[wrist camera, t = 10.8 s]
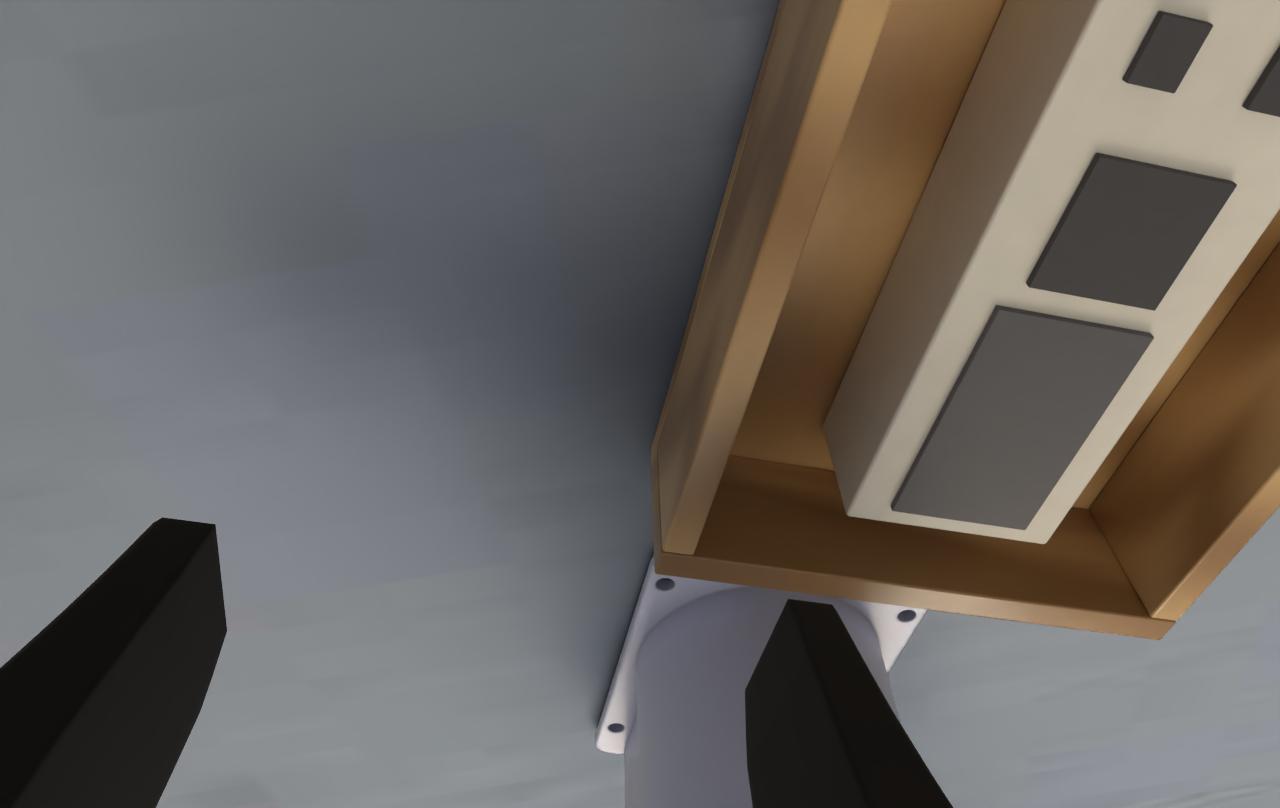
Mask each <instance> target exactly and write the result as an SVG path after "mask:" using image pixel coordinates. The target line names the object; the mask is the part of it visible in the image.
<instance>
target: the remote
mask: <svg viewBox="0 0 1280 808" xmlns="http://www.w3.org/2000/svg"><path fill="white" fill-rule="evenodd" d="M1279 209H1280V0H1006V2H1005V4H1004V7H1003V9H1002V11H1001V13H1000V16H999V18H998V20H997V23H996V25H995V27H994V30H993V32H992V34H991V37H990V39H989V41H988V44H987V46H986V48H985V51H984V53H983V55H982V58H981V60H980V62H979V65H978V67H977V69H976V71H975V74H974V76H973V78H972V81H971V83H970V85H969V88H968V90H967V92H966V95H965V97H964V99H963V102H962V104H961V106H960V109H959V111H958V113H957V116H956V118H955V120H954V123H953V125H952V127H951V130H950V132H949V134H948V136H947V139H946V141H945V143H944V146H943V148H942V150H941V153H940V155H939V157H938V160H937V162H936V164H935V167H934V169H933V171H932V174H931V176H930V178H929V181H928V183H927V185H926V188H925V190H924V192H923V195H922V197H921V199H920V201H919V204H918V206H917V208H916V211H915V213H914V215H913V218H912V220H911V222H910V225H909V227H908V229H907V232H906V234H905V236H904V239H903V241H902V243H901V246H900V248H899V250H898V253H897V255H896V257H895V259H894V262H893V264H892V266H891V269H890V271H889V273H888V276H887V278H886V280H885V283H884V285H883V287H882V290H881V292H880V294H879V297H878V299H877V301H876V304H875V306H874V308H873V311H872V313H871V315H870V318H869V320H868V322H867V324H866V327H865V329H864V331H863V334H862V336H861V338H860V341H859V343H858V345H857V348H856V350H855V352H854V355H853V357H852V359H851V362H850V364H849V366H848V369H847V371H846V373H845V376H844V378H843V380H842V382H841V385H840V387H839V389H838V392H837V394H836V396H835V399H834V401H833V403H832V406H831V408H830V410H829V413H828V415H827V417H826V420H825V422H824V424H823V430H824V434H825V437H826V441H827V445H828V449H829V452H830V456H831V460H832V463H833V467H834V471H835V475H836V478H837V482H838V486H839V489H840V493H841V497H842V500H843V504H844V508H845V512H846V514H847V515H848V516H851V517H858V518H865V519H872V520H879V521H886V522H892V523H899V524H906V525H913V526H920V527H927V528H934V529H941V530H948V531H955V532H962V533H969V534H976V535H983V536H990V537H997V538H1004V539H1011V540H1018V541H1025V542H1032V543H1039V544H1045V543H1047V541H1048V540H1049V539H1050V537H1051V536H1052V534H1053V533H1054V531H1055V530H1056V529H1057V527H1058V526H1059V524H1060V523H1061V521H1062V520H1063V518H1064V517H1065V516H1066V514H1067V513H1068V511H1069V510H1070V508H1071V507H1072V506H1073V504H1074V503H1075V501H1076V500H1077V498H1078V497H1079V496H1080V494H1081V493H1082V491H1083V490H1084V488H1085V487H1086V486H1087V484H1088V483H1089V481H1090V480H1091V478H1092V477H1093V476H1094V474H1095V473H1096V471H1097V470H1098V468H1099V467H1100V466H1101V464H1102V463H1103V461H1104V460H1105V458H1106V457H1107V455H1108V454H1109V453H1110V451H1111V450H1112V448H1113V447H1114V445H1115V444H1116V443H1117V441H1118V440H1119V438H1120V437H1121V435H1122V434H1123V433H1124V431H1125V430H1126V428H1127V427H1128V425H1129V424H1130V423H1131V421H1132V420H1133V418H1134V417H1135V415H1136V414H1137V413H1138V411H1139V410H1140V408H1141V407H1142V405H1143V404H1144V403H1145V401H1146V400H1147V398H1148V397H1149V395H1150V394H1151V392H1152V391H1153V390H1154V388H1155V387H1156V385H1157V384H1158V382H1159V381H1160V380H1161V378H1162V377H1163V375H1164V374H1165V372H1166V371H1167V370H1168V368H1169V367H1170V365H1171V364H1172V362H1173V361H1174V360H1175V358H1176V357H1177V355H1178V354H1179V352H1180V351H1181V350H1182V348H1183V347H1184V345H1185V344H1186V342H1187V341H1188V340H1189V338H1190V337H1191V335H1192V334H1193V332H1194V331H1195V329H1196V328H1197V327H1198V325H1199V324H1200V322H1201V321H1202V319H1203V318H1204V317H1205V315H1206V314H1207V312H1208V311H1209V309H1210V308H1211V307H1212V305H1213V304H1214V302H1215V301H1216V299H1217V298H1218V297H1219V295H1220V294H1221V292H1222V291H1223V289H1224V288H1225V287H1226V285H1227V284H1228V282H1229V281H1230V279H1231V278H1232V277H1233V275H1234V274H1235V272H1236V271H1237V269H1238V268H1239V266H1240V265H1241V264H1242V262H1243V261H1244V259H1245V258H1246V256H1247V255H1248V254H1249V252H1250V251H1251V249H1252V248H1253V246H1254V245H1255V244H1256V242H1257V241H1258V239H1259V238H1260V236H1261V235H1262V234H1263V232H1264V231H1265V229H1266V228H1267V226H1268V225H1269V224H1270V222H1271V221H1272V219H1273V218H1274V216H1275V215H1276V214H1277V212H1278V211H1279Z"/></svg>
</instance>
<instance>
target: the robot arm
mask: <svg viewBox="0 0 1280 808" xmlns="http://www.w3.org/2000/svg"><path fill="white" fill-rule="evenodd" d="M662 578H669V579H668V580H662ZM926 611H927V609H919V608H911V607H904V606H896V605H889V604H881V603H873V602H866V601H858V600H850V599H843V598H835V597H827V596H820V595H812V594H804V593H797V592H789V591H782V590H774V589H766V588H759V587H751V586H743V585H736V584H728V583H720V582H713V581H705V580H698V579H690V578H682V577H675V576H667V575H659V574H655V566H654V556H653V558H652V559H651V561H650V564H649V567H648V571H647V574H646V577H645V580H644V583H643V586H642V589H641V593H640V596H639V599H638V602H637V605H636V608H635V611H634V614H633V618H632V621H631V624H630V627H629V630H628V633H627V636H626V640H625V643H624V646H623V649H622V652H621V655H620V658H619V662H618V665H617V668H616V671H615V674H614V677H613V680H612V684H611V687H610V690H609V693H608V696H607V699H606V702H605V705H604V709H603V712H602V715H601V718H600V721H599V724H598V727H597V731H596V734H595V746H596V747H597V748H598V749H599V750H601V751H603V752H607V753H617V754H625V808H953V806H952V805H951V804H950V802H949V801H948V799H947V797H946V796H945V794H944V793H943V791H942V790H941V788H940V787H939V785H938V784H937V782H936V780H935V779H934V777H933V776H932V774H931V773H930V771H929V769H928V768H927V766H926V765H925V763H924V761H923V760H922V758H921V756H920V755H919V753H918V751H917V750H916V748H915V747H914V745H913V743H912V742H911V740H910V738H909V737H908V735H907V734H906V732H905V730H904V729H903V727H902V725H901V724H900V720H899V716H898V713H897V709H896V705H895V701H894V698H893V694H892V690H891V686H890V683H889V679H888V675H887V673H888V672H889V670H890V669H891V667H892V665H893V664H894V662H895V661H896V659H897V657H898V656H899V654H900V653H901V651H902V649H903V648H904V646H905V644H906V643H907V641H908V640H909V638H910V636H911V635H912V633H913V632H914V630H915V628H916V627H917V625H918V624H919V622H920V620H921V619H922V617H923V616H924V614H925V612H926ZM226 632H227V627H226V618H225V609H224V599H223V590H222V581H221V572H220V563H219V554H218V545H217V536H216V527H215V524H208V523H200V522H192V521H185V520H177V519H169V518H161V519H159V520H158V521H156V522H154V523H153V524H152V525H151V526H150V527H149V528H148V529H147V530H146V531H145V532H144V533H143V534H142V535H141V536H140V537H139V538H138V539H137V540H136V541H135V542H134V543H133V544H132V545H131V546H130V547H129V548H128V549H127V550H126V551H125V552H124V553H123V554H122V555H121V556H120V557H119V558H118V559H117V560H116V561H115V562H114V563H113V564H112V565H111V566H110V567H109V568H108V569H107V570H106V571H105V572H104V573H103V574H102V575H101V576H100V577H99V578H98V579H97V580H96V581H95V582H94V583H92V584H91V585H90V586H89V587H88V588H87V589H86V590H85V591H84V592H83V593H82V594H81V595H80V596H79V597H78V598H77V599H76V600H75V601H74V602H73V603H71V604H70V605H69V606H68V607H67V608H66V609H65V610H64V611H63V612H62V613H61V614H60V615H59V616H58V617H56V618H55V619H54V620H53V621H52V622H51V623H50V624H49V625H48V626H46V627H45V628H44V629H43V630H42V631H41V632H40V633H39V634H38V635H37V636H35V637H34V638H33V639H32V640H31V641H30V642H29V643H28V644H27V645H26V646H24V647H23V648H22V649H21V650H20V651H19V652H18V653H17V654H16V655H14V656H13V657H12V658H11V659H10V660H9V661H8V662H7V663H6V664H4V665H3V666H2V667H1V668H0V808H156V806H157V804H158V802H159V799H160V797H161V795H162V793H163V791H164V789H165V787H166V784H167V782H168V780H169V778H170V776H171V774H172V772H173V769H174V767H175V765H176V763H177V761H178V759H179V756H180V754H181V752H182V750H183V748H184V746H185V743H186V741H187V739H188V737H189V735H190V733H191V730H192V728H193V726H194V724H195V722H196V719H197V717H198V715H199V713H200V711H201V708H202V705H203V702H204V699H205V696H206V693H207V690H208V687H209V684H210V681H211V679H212V676H213V673H214V669H215V666H216V663H217V660H218V657H219V654H220V651H221V648H222V645H223V642H224V638H225V635H226Z"/></svg>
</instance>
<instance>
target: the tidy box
mask: <svg viewBox="0 0 1280 808" xmlns="http://www.w3.org/2000/svg"><path fill="white" fill-rule="evenodd" d="M1005 2H1006V0H780V2H779V6H778V9H777V13H776V16H775V20H774V23H773V27H772V30H771V34H770V37H769V41H768V44H767V48H766V51H765V55H764V58H763V62H762V65H761V69H760V72H759V76H758V79H757V83H756V86H755V89H754V93H753V96H752V100H751V103H750V107H749V110H748V114H747V117H746V121H745V124H744V128H743V131H742V135H741V138H740V142H739V145H738V149H737V152H736V156H735V159H734V163H733V166H732V170H731V173H730V176H729V180H728V183H727V187H726V190H725V194H724V197H723V201H722V204H721V208H720V211H719V215H718V218H717V222H716V225H715V229H714V232H713V236H712V239H711V243H710V246H709V250H708V253H707V256H706V260H705V263H704V267H703V270H702V274H701V277H700V281H699V284H698V288H697V291H696V295H695V298H694V302H693V305H692V309H691V312H690V316H689V319H688V323H687V326H686V330H685V333H684V337H683V340H682V343H681V347H680V350H679V354H678V357H677V361H676V364H675V368H674V371H673V375H672V378H671V382H670V385H669V389H668V392H667V396H666V399H665V403H664V406H663V410H662V413H661V417H660V420H659V424H658V427H657V430H656V434H655V437H654V441H653V444H652V448H651V480H652V509H653V538H654V566H655V574H659V575H667V576H675V577H682V578H690V579H698V580H705V581H713V582H720V583H728V584H736V585H743V586H751V587H759V588H766V589H774V590H782V591H789V592H797V593H804V594H812V595H820V596H827V597H835V598H843V599H850V600H858V601H866V602H873V603H881V604H889V605H896V606H904V607H911V608H919V609H927V610H934V611H942V612H950V613H957V614H965V615H973V616H980V617H988V618H995V619H1003V620H1011V621H1018V622H1026V623H1034V624H1041V625H1049V626H1057V627H1064V628H1072V629H1080V630H1087V631H1095V632H1102V633H1110V634H1118V635H1125V636H1133V637H1141V638H1148V639H1156V640H1160V639H1161V638H1162V637H1163V636H1164V635H1165V634H1166V633H1167V632H1168V631H1169V630H1170V628H1171V627H1172V626H1173V625H1174V624H1175V622H1176V620H1178V619H1179V618H1180V617H1181V616H1182V615H1183V614H1184V613H1185V611H1186V610H1187V609H1188V608H1189V607H1190V606H1191V605H1192V604H1193V602H1194V601H1195V600H1196V599H1197V598H1198V597H1199V596H1200V595H1201V594H1202V592H1203V591H1204V590H1205V589H1206V588H1207V587H1208V586H1209V585H1210V584H1211V582H1212V581H1213V580H1214V579H1215V578H1216V577H1217V576H1218V575H1219V573H1220V572H1221V571H1222V570H1223V569H1224V568H1225V567H1226V566H1227V565H1228V563H1229V562H1230V561H1231V560H1232V559H1233V558H1234V557H1235V556H1236V554H1237V553H1238V552H1239V551H1240V550H1241V549H1242V548H1243V547H1244V546H1245V544H1246V543H1247V542H1248V541H1249V540H1250V539H1251V538H1252V537H1253V535H1254V534H1255V533H1256V532H1257V531H1258V530H1259V529H1260V528H1261V527H1262V525H1263V524H1264V523H1265V522H1266V521H1267V520H1268V519H1269V518H1270V516H1271V515H1272V514H1273V513H1274V512H1275V511H1276V510H1277V509H1278V508H1279V506H1280V209H1279V211H1278V212H1277V214H1276V215H1275V216H1274V218H1273V219H1272V221H1271V222H1270V224H1269V225H1268V226H1267V228H1266V229H1265V231H1264V232H1263V234H1262V235H1261V236H1260V238H1259V239H1258V241H1257V242H1256V244H1255V245H1254V246H1253V248H1252V249H1251V251H1250V252H1249V254H1248V255H1247V256H1246V258H1245V259H1244V261H1243V262H1242V264H1241V265H1240V266H1239V268H1238V269H1237V271H1236V272H1235V274H1234V275H1233V277H1232V278H1231V279H1230V281H1229V282H1228V284H1227V285H1226V287H1225V288H1224V289H1223V291H1222V292H1221V294H1220V295H1219V297H1218V298H1217V299H1216V301H1215V302H1214V304H1213V305H1212V307H1211V308H1210V309H1209V311H1208V312H1207V314H1206V315H1205V317H1204V318H1203V319H1202V321H1201V322H1200V324H1199V325H1198V327H1197V328H1196V329H1195V331H1194V332H1193V334H1192V335H1191V337H1190V338H1189V340H1188V341H1187V342H1186V344H1185V345H1184V347H1183V348H1182V350H1181V351H1180V352H1179V354H1178V355H1177V357H1176V358H1175V360H1174V361H1173V362H1172V364H1171V365H1170V367H1169V368H1168V370H1167V371H1166V372H1165V374H1164V375H1163V377H1162V378H1161V380H1160V381H1159V382H1158V384H1157V385H1156V387H1155V388H1154V390H1153V391H1152V392H1151V394H1150V395H1149V397H1148V398H1147V400H1146V401H1145V403H1144V404H1143V405H1142V407H1141V408H1140V410H1139V411H1138V413H1137V414H1136V415H1135V417H1134V418H1133V420H1132V421H1131V423H1130V424H1129V425H1128V427H1127V428H1126V430H1125V431H1124V433H1123V434H1122V435H1121V437H1120V438H1119V440H1118V441H1117V443H1116V444H1115V445H1114V447H1113V448H1112V450H1111V451H1110V453H1109V454H1108V455H1107V457H1106V458H1105V460H1104V461H1103V463H1102V464H1101V466H1100V467H1099V468H1098V470H1097V471H1096V473H1095V474H1094V476H1093V477H1092V478H1091V480H1090V481H1089V483H1088V484H1087V486H1086V487H1085V488H1084V490H1083V491H1082V493H1081V494H1080V496H1079V497H1078V498H1077V500H1076V501H1075V503H1074V504H1073V506H1072V507H1071V508H1070V510H1069V511H1068V513H1067V514H1066V516H1065V517H1064V518H1063V520H1062V521H1061V523H1060V524H1059V526H1058V527H1057V529H1056V530H1055V531H1054V533H1053V534H1052V536H1051V537H1050V539H1049V540H1048V541H1047V543H1045V544H1039V543H1032V542H1025V541H1018V540H1011V539H1004V538H997V537H990V536H983V535H976V534H969V533H962V532H955V531H948V530H941V529H934V528H927V527H920V526H913V525H906V524H899V523H892V522H886V521H879V520H872V519H865V518H858V517H851V516H848V515H847V514H846V512H845V508H844V504H843V500H842V497H841V493H840V489H839V486H838V482H837V478H836V475H835V471H834V467H833V463H832V460H831V456H830V452H829V449H828V445H827V441H826V437H825V434H824V430H823V424H824V422H825V420H826V417H827V415H828V413H829V410H830V408H831V406H832V403H833V401H834V399H835V396H836V394H837V392H838V389H839V387H840V385H841V382H842V380H843V378H844V376H845V373H846V371H847V369H848V366H849V364H850V362H851V359H852V357H853V355H854V352H855V350H856V348H857V345H858V343H859V341H860V338H861V336H862V334H863V331H864V329H865V327H866V324H867V322H868V320H869V318H870V315H871V313H872V311H873V308H874V306H875V304H876V301H877V299H878V297H879V294H880V292H881V290H882V287H883V285H884V283H885V280H886V278H887V276H888V273H889V271H890V269H891V266H892V264H893V262H894V259H895V257H896V255H897V253H898V250H899V248H900V246H901V243H902V241H903V239H904V236H905V234H906V232H907V229H908V227H909V225H910V222H911V220H912V218H913V215H914V213H915V211H916V208H917V206H918V204H919V201H920V199H921V197H922V195H923V192H924V190H925V188H926V185H927V183H928V181H929V178H930V176H931V174H932V171H933V169H934V167H935V164H936V162H937V160H938V157H939V155H940V153H941V150H942V148H943V146H944V143H945V141H946V139H947V136H948V134H949V132H950V130H951V127H952V125H953V123H954V120H955V118H956V116H957V113H958V111H959V109H960V106H961V104H962V102H963V99H964V97H965V95H966V92H967V90H968V88H969V85H970V83H971V81H972V78H973V76H974V74H975V71H976V69H977V67H978V65H979V62H980V60H981V58H982V55H983V53H984V51H985V48H986V46H987V44H988V41H989V39H990V37H991V34H992V32H993V30H994V27H995V25H996V23H997V20H998V18H999V16H1000V13H1001V11H1002V9H1003V7H1004V4H1005Z"/></svg>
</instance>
